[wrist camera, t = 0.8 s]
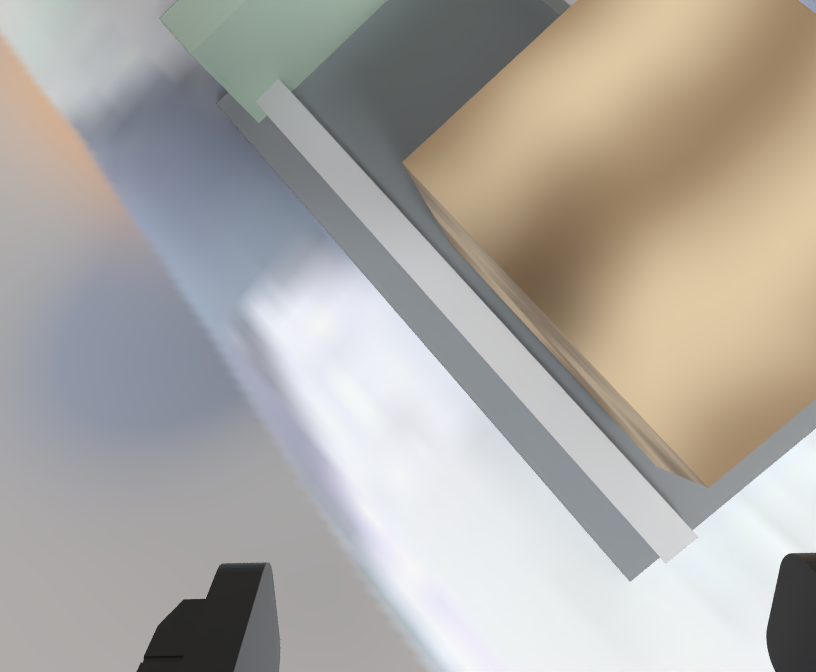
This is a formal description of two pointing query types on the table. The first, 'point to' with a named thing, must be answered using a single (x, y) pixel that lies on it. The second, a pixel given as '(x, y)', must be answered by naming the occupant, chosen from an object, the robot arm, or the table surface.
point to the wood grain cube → (652, 213)
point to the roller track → (424, 238)
